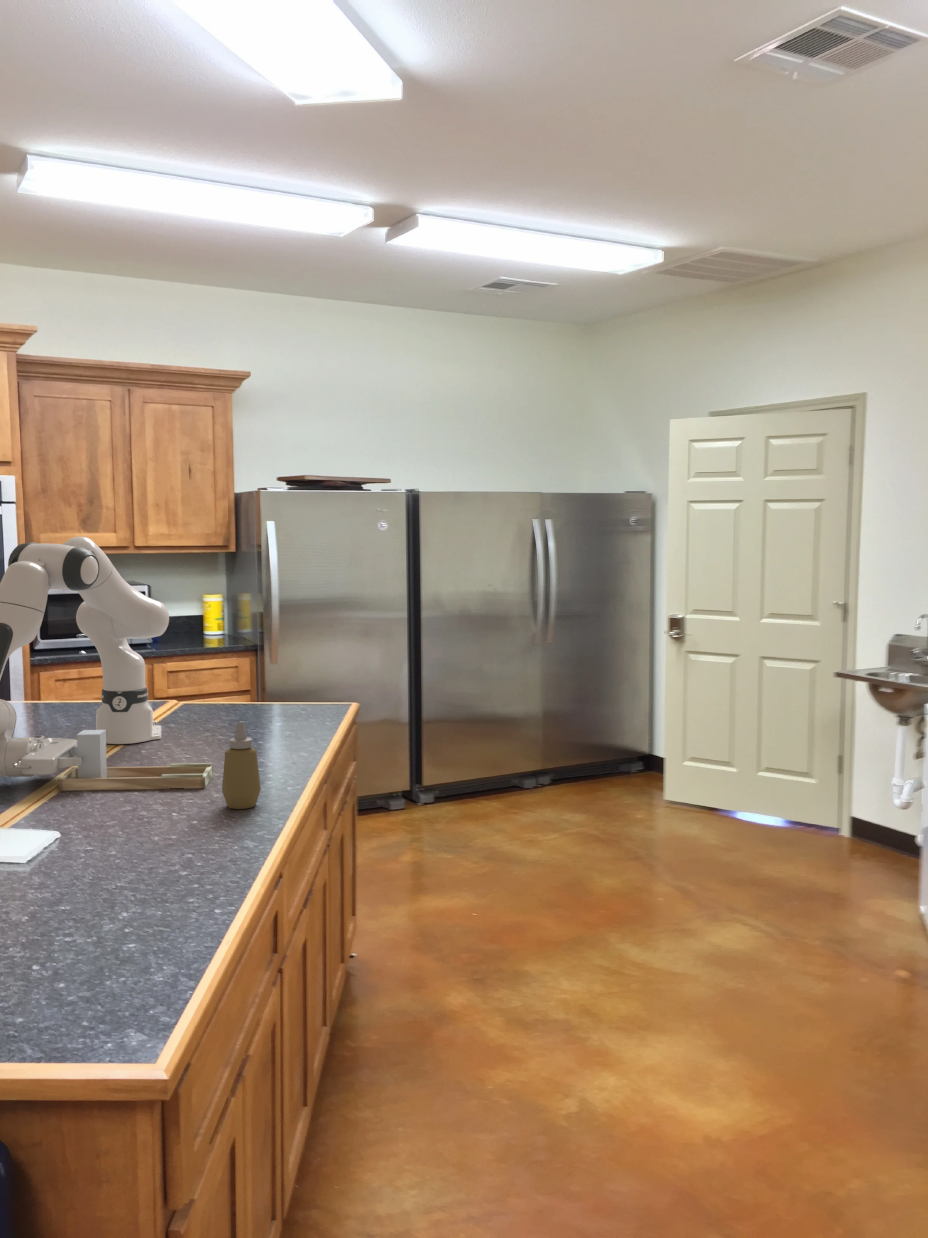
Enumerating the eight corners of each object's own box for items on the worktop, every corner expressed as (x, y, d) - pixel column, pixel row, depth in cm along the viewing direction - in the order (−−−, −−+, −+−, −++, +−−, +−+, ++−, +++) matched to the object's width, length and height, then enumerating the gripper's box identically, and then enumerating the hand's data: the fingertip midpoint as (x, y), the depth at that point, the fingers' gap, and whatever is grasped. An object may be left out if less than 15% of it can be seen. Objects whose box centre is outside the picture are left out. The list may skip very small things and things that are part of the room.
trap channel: (73, 778, 232) (72, 765, 232) (212, 775, 235) (212, 763, 235) (58, 790, 221) (57, 777, 221) (205, 788, 224) (204, 774, 224)
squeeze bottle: (268, 803, 212) (267, 719, 211) (248, 813, 205) (247, 727, 203) (235, 799, 215) (234, 717, 213) (214, 809, 207) (212, 724, 206)
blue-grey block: (84, 781, 229) (83, 730, 228) (107, 781, 230) (105, 729, 228) (78, 787, 224) (76, 734, 223) (101, 786, 225) (99, 734, 224)
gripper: (8, 754, 214) (74, 753, 216) (39, 734, 235) (99, 733, 236) (9, 782, 215) (75, 781, 216) (40, 760, 235) (100, 759, 237)
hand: (88, 756), depth 226 cm, fingers open, 8 cm apart
